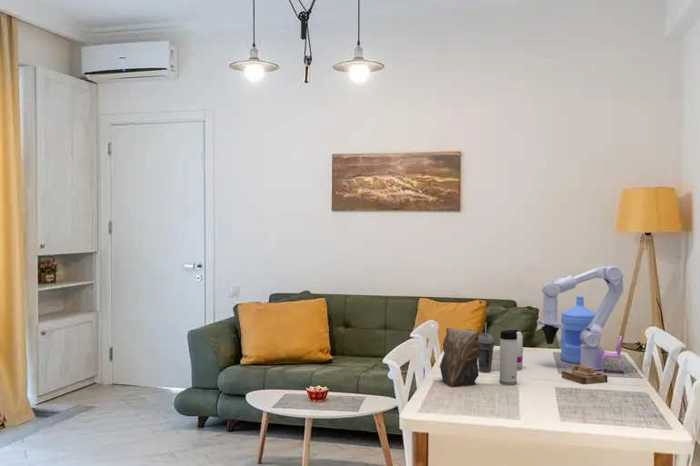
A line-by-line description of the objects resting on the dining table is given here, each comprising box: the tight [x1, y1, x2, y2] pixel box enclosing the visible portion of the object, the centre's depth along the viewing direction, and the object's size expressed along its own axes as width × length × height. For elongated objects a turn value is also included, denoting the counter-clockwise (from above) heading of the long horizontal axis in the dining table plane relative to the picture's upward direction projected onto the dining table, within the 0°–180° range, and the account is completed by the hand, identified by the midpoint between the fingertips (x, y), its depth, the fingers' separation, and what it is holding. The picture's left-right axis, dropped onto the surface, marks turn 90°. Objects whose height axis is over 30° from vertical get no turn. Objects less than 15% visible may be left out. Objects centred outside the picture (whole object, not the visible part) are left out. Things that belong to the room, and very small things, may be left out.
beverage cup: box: [477, 321, 496, 373], centre depth 277 cm, size 7×7×20 cm
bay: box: [561, 370, 608, 385], centre depth 264 cm, size 11×12×2 cm
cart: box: [571, 364, 597, 377], centre depth 264 cm, size 5×8×5 cm, turn 23°
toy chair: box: [601, 335, 626, 375], centre depth 278 cm, size 8×9×15 cm
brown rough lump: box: [439, 327, 480, 388], centre depth 256 cm, size 13×13×20 cm
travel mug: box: [499, 329, 519, 386], centre depth 256 cm, size 6×7×20 cm
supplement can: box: [517, 331, 524, 371], centre depth 284 cm, size 8×8×15 cm
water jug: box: [560, 296, 597, 365], centre depth 302 cm, size 16×16×28 cm
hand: (549, 343), depth 286 cm, fingers closed
